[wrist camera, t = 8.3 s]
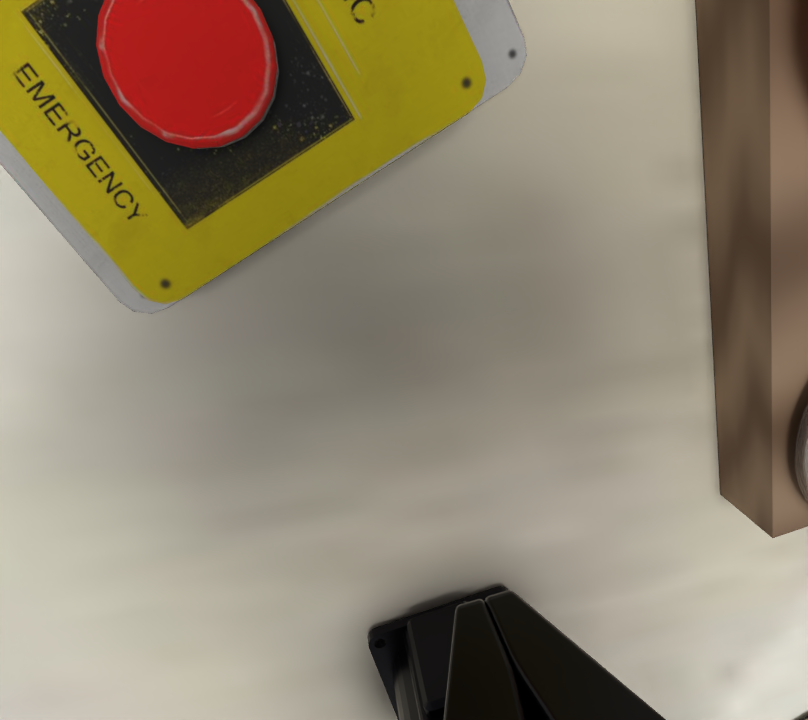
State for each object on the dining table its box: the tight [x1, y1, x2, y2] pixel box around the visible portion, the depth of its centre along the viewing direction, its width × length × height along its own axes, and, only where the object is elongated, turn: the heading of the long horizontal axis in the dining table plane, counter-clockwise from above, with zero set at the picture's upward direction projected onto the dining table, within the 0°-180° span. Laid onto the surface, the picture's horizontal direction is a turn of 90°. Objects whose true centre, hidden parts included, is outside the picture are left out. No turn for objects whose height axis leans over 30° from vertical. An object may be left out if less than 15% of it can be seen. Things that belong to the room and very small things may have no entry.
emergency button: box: [0, 0, 527, 313], centre depth 14 cm, size 9×4×15 cm
